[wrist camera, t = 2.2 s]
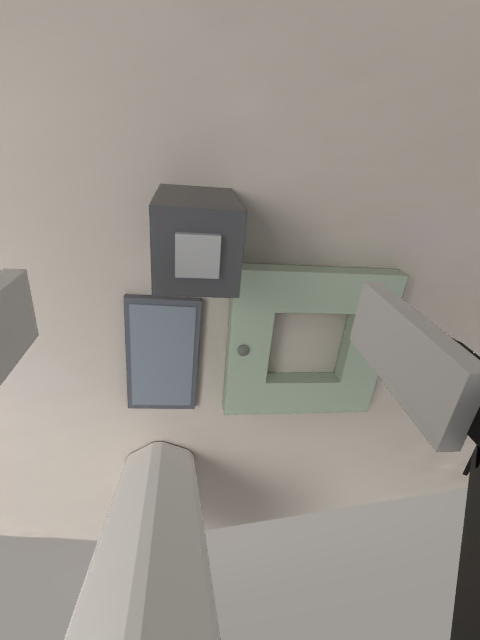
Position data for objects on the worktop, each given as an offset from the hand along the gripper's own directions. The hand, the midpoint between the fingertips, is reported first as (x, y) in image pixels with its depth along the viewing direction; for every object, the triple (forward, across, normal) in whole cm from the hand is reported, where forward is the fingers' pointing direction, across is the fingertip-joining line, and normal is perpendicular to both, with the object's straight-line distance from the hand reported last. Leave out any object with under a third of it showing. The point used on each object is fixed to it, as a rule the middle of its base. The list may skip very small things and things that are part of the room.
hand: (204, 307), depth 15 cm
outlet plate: (+14, +10, -10) cm, 20 cm away
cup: (+14, -3, -25) cm, 29 cm away
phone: (+15, -3, -11) cm, 19 cm away
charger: (+14, 0, 0) cm, 14 cm away
